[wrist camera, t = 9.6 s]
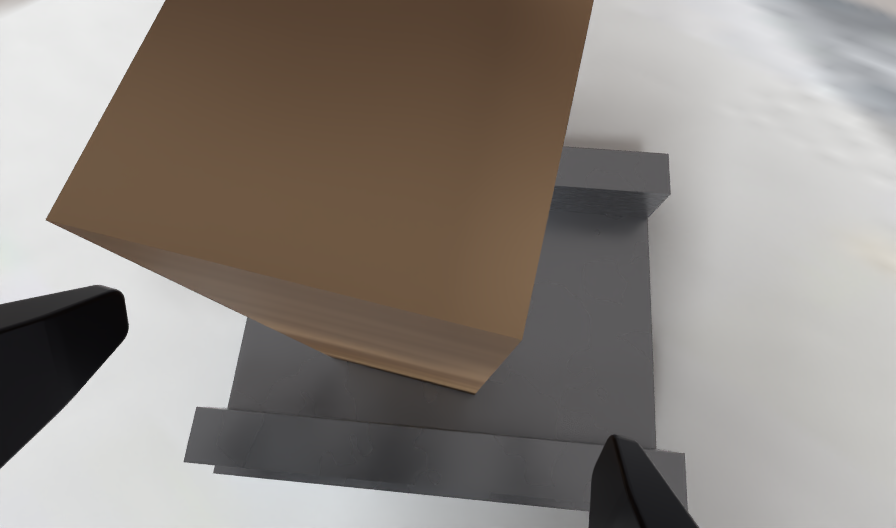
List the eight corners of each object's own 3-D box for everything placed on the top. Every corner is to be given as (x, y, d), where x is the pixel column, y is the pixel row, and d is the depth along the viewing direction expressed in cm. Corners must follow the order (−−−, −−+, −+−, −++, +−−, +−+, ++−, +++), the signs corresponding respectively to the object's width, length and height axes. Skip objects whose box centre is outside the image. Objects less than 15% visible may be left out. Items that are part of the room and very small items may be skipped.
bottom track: (646, 512, 16) (689, 533, 13) (227, 469, 16) (178, 481, 13) (636, 181, 19) (667, 141, 16) (293, 157, 20) (265, 113, 17)
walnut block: (474, 395, 16) (522, 339, 5) (331, 357, 16) (46, 220, 5) (506, 256, 17) (604, -52, 6) (374, 224, 18) (230, -118, 6)
